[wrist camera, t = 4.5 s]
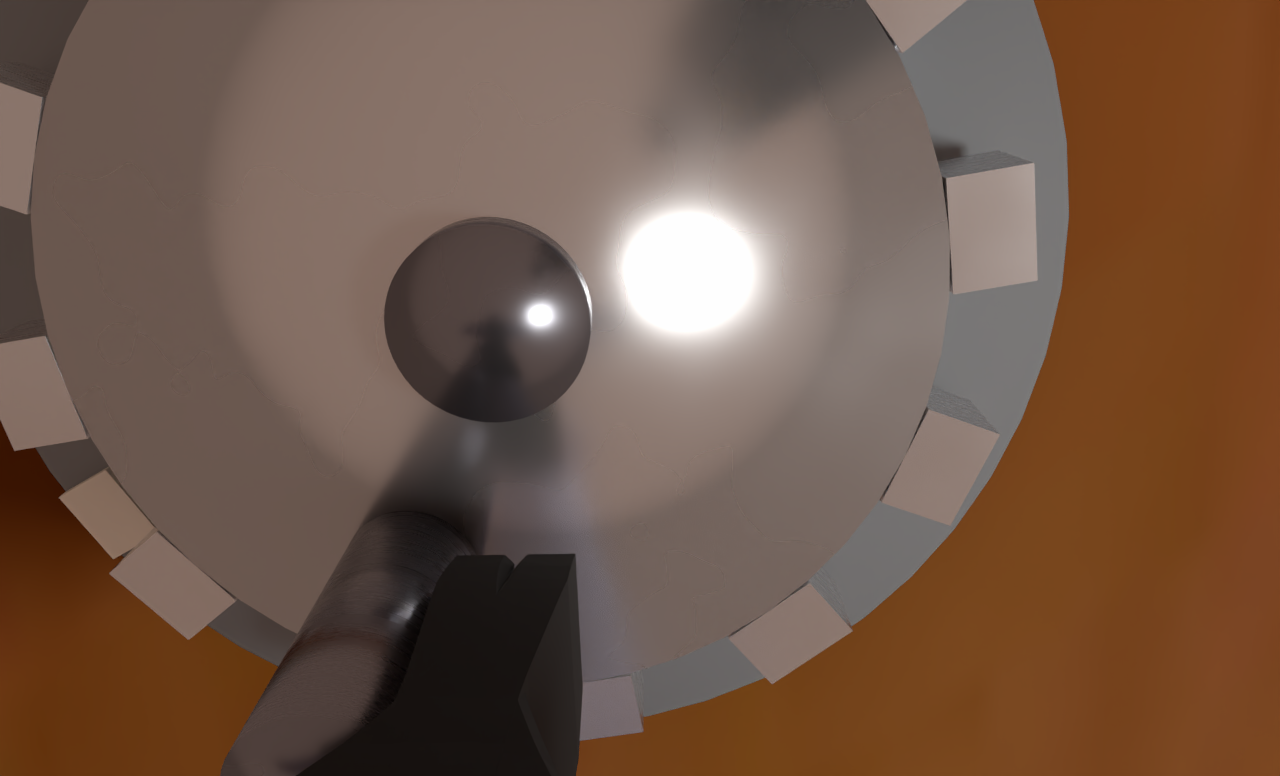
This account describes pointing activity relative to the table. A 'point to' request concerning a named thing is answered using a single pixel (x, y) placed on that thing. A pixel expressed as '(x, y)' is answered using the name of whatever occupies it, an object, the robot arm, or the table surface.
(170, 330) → the sprocket
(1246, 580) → the table surface
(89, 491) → the sprocket base
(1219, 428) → the table surface
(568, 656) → the robot arm
